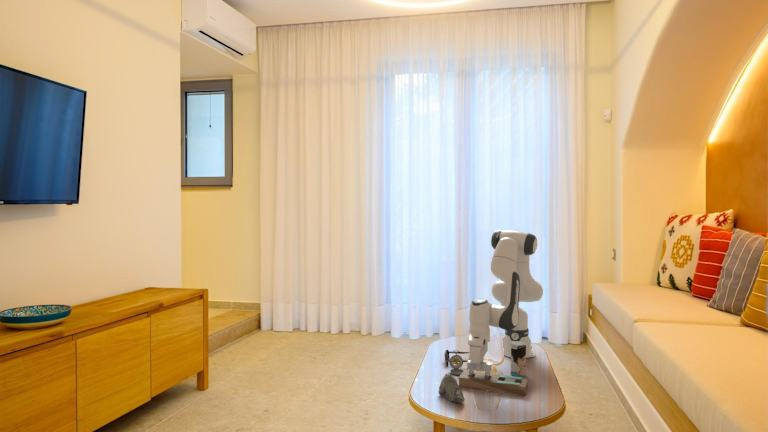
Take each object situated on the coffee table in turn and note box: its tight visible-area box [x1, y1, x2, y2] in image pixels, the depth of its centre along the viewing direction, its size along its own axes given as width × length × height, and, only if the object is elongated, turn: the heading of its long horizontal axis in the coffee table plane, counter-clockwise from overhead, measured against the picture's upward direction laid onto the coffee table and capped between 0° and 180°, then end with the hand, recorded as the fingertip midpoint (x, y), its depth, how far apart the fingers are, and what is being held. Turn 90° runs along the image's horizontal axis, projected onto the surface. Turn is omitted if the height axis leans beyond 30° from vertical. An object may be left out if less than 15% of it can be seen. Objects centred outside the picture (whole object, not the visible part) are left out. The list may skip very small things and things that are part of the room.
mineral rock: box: [438, 373, 465, 404], centre depth 201 cm, size 13×11×10 cm
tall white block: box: [466, 359, 493, 379], centre depth 217 cm, size 3×10×8 cm, turn 67°
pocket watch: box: [448, 349, 465, 376], centre depth 233 cm, size 8×8×10 cm
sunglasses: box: [443, 349, 469, 366], centre depth 247 cm, size 14×15×5 cm
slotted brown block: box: [458, 369, 529, 397], centre depth 214 cm, size 10×28×4 cm, turn 67°
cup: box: [510, 341, 527, 378], centre depth 229 cm, size 7×7×15 cm
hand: (479, 367), depth 217 cm, fingers closed on tall white block, 3 cm apart
